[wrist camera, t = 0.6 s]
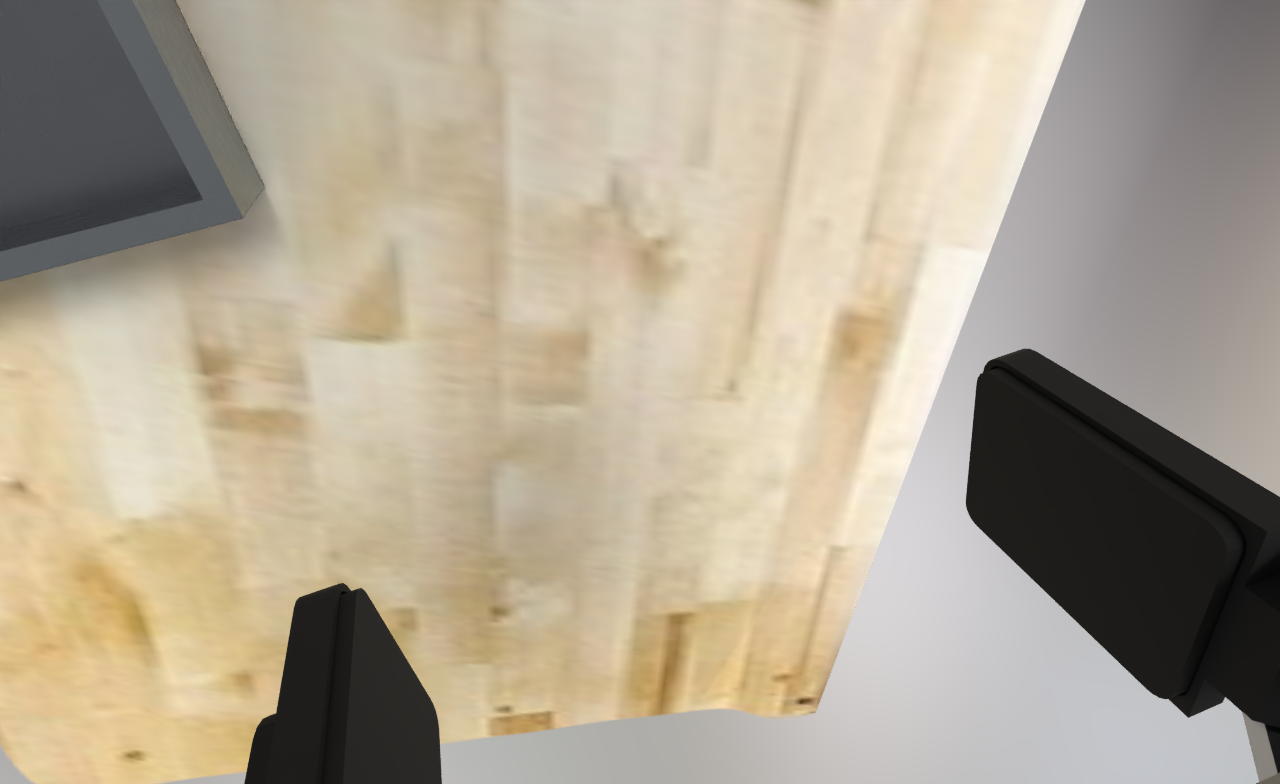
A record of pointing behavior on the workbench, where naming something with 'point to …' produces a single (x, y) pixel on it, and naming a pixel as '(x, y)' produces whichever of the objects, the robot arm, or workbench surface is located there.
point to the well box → (109, 133)
